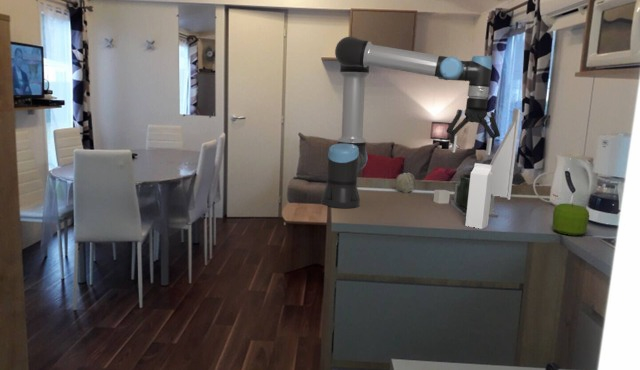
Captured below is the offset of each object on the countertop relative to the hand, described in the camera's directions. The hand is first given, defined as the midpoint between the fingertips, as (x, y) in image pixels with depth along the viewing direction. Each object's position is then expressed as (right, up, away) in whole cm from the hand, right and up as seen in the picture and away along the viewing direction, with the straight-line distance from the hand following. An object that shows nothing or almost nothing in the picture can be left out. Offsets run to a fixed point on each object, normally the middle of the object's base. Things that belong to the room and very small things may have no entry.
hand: (470, 153), depth 204 cm
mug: (+3, -21, +8) cm, 23 cm away
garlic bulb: (-20, -15, +38) cm, 45 cm away
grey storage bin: (+3, -22, +8) cm, 23 cm away
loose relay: (-7, -20, +18) cm, 28 cm away
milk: (-3, -27, -19) cm, 33 cm away
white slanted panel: (+22, -17, +43) cm, 51 cm away
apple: (+27, -29, -23) cm, 46 cm away
